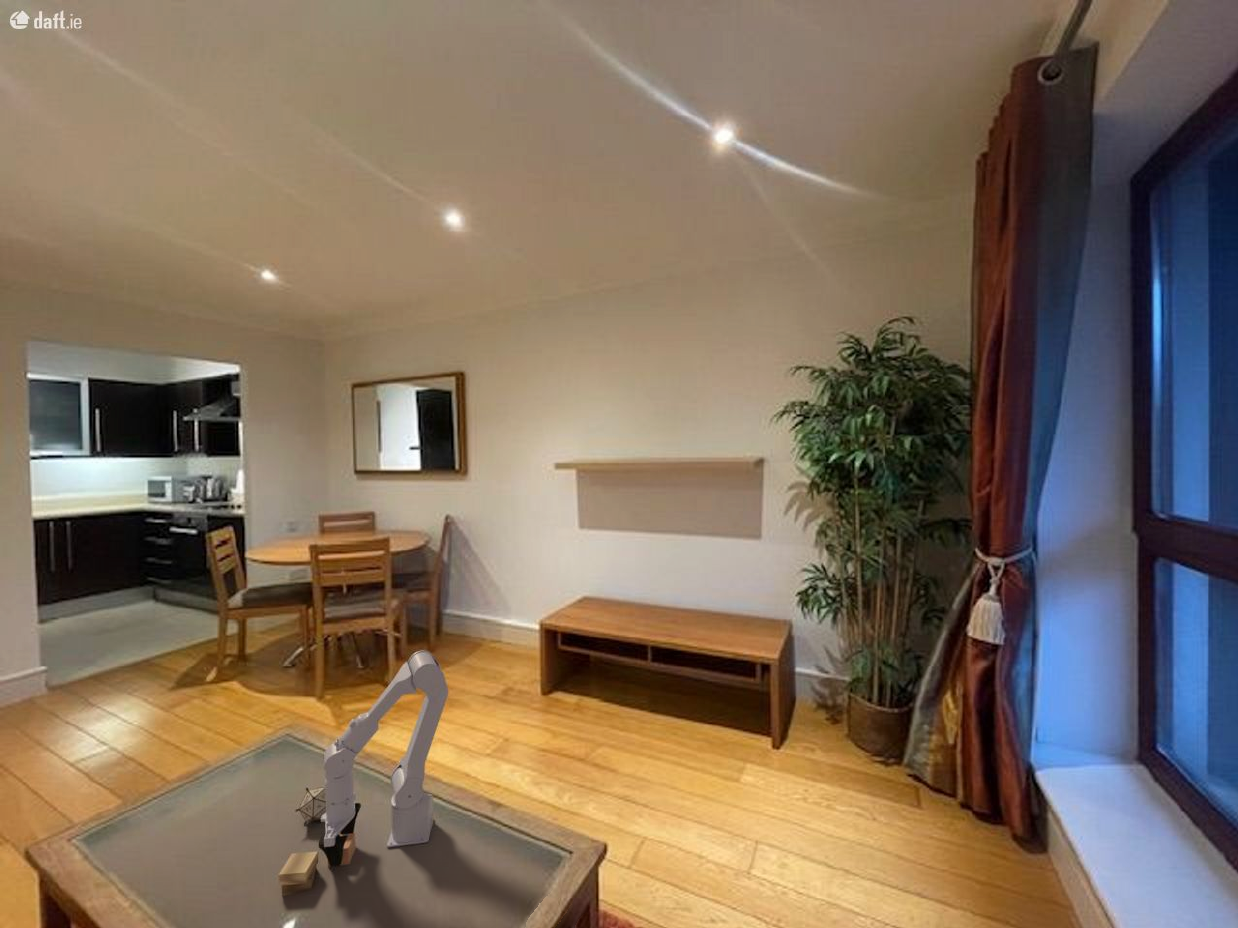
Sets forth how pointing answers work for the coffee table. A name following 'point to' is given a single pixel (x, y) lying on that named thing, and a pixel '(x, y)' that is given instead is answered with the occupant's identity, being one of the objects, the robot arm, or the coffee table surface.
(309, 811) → the game die
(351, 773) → the robot arm
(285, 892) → the walnut slab
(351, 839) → the terracotta block
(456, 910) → the coffee table surface
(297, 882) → the oak slab
